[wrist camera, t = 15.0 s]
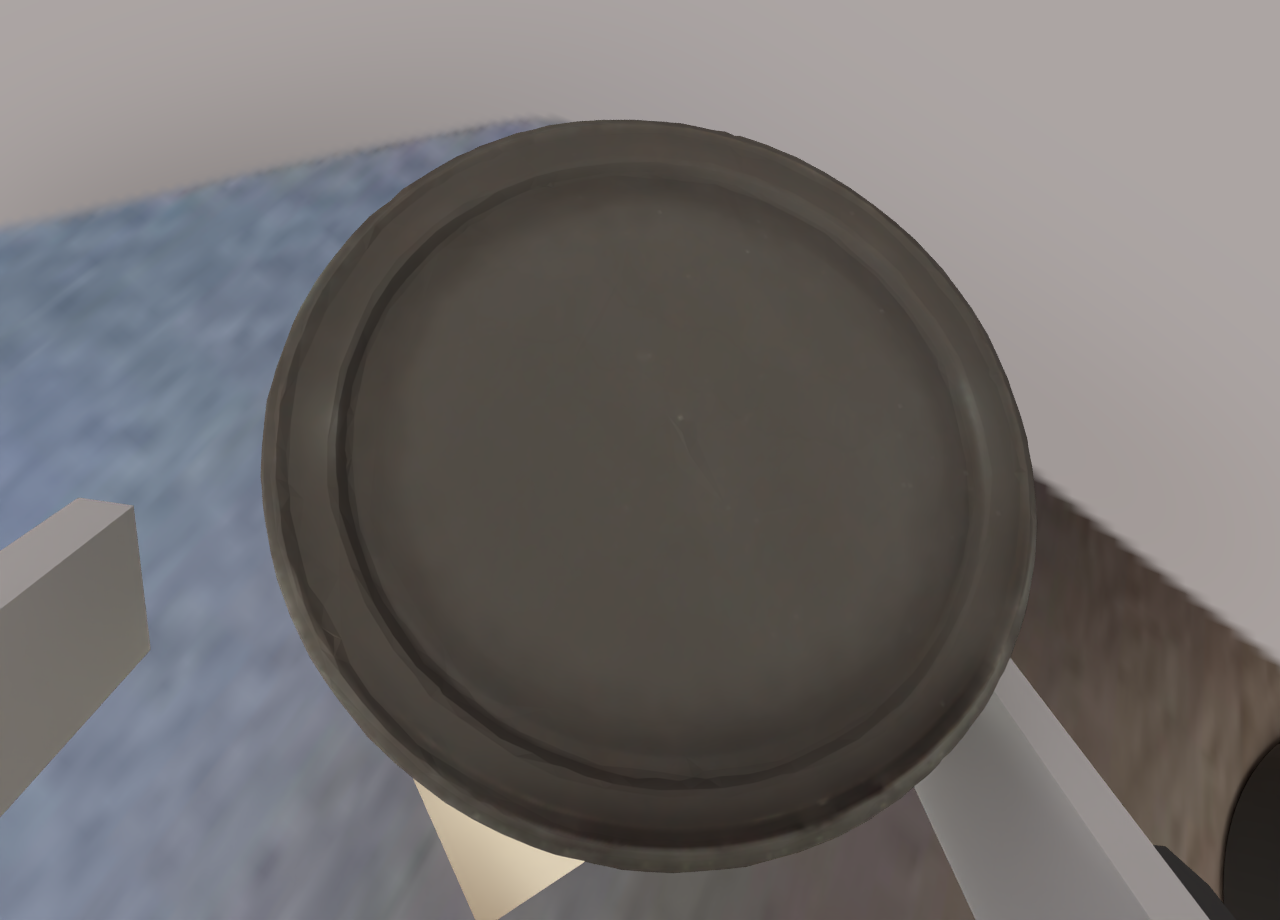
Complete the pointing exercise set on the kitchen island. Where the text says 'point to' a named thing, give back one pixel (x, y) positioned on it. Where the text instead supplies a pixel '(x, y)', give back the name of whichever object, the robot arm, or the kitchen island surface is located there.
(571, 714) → the coffee can
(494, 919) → the birch board
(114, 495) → the kitchen island surface
